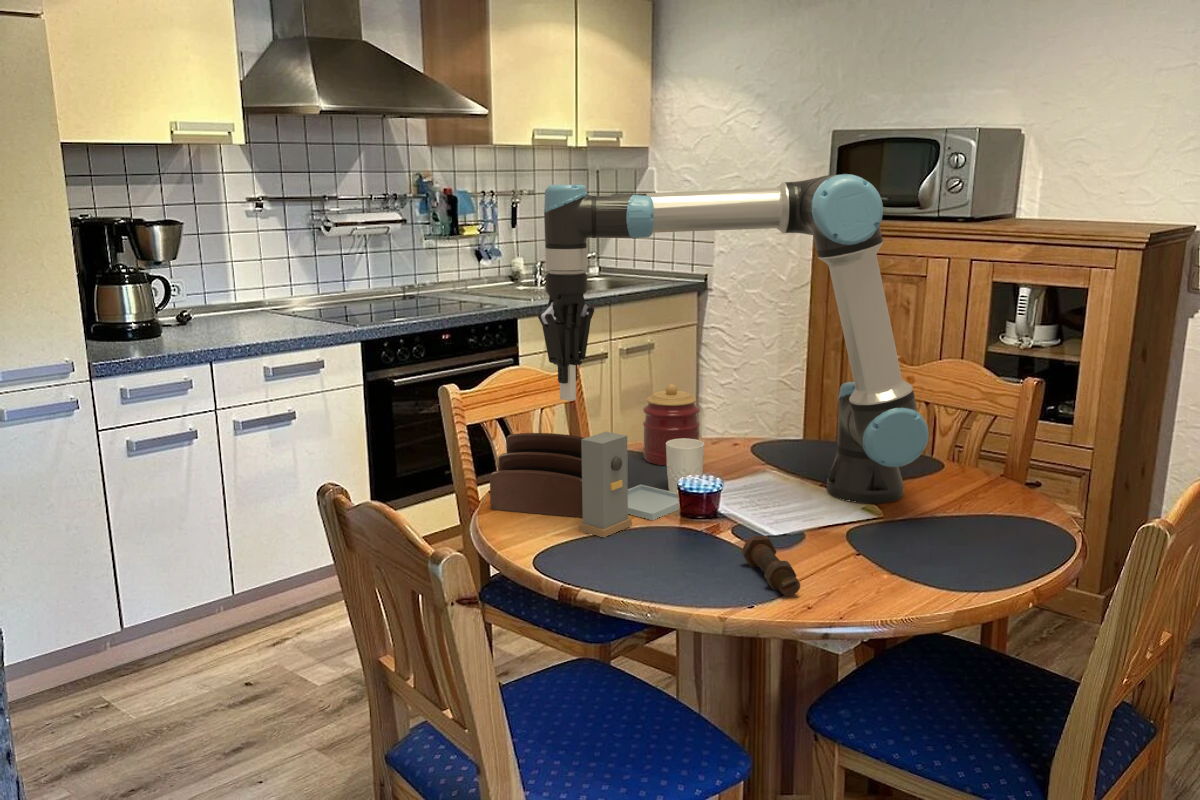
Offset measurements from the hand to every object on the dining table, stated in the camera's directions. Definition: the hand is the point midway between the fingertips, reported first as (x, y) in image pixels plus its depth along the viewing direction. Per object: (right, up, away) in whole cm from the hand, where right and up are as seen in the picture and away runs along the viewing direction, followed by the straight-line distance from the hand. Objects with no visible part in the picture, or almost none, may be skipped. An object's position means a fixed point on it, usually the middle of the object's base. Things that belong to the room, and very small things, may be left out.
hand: (567, 399), depth 185 cm
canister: (+22, -14, +45) cm, 52 cm away
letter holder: (-5, -22, +13) cm, 26 cm away
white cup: (+24, -19, +22) cm, 38 cm away
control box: (+7, -24, 0) cm, 25 cm away
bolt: (+34, -30, -24) cm, 51 cm away
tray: (+15, -21, +13) cm, 29 cm away
